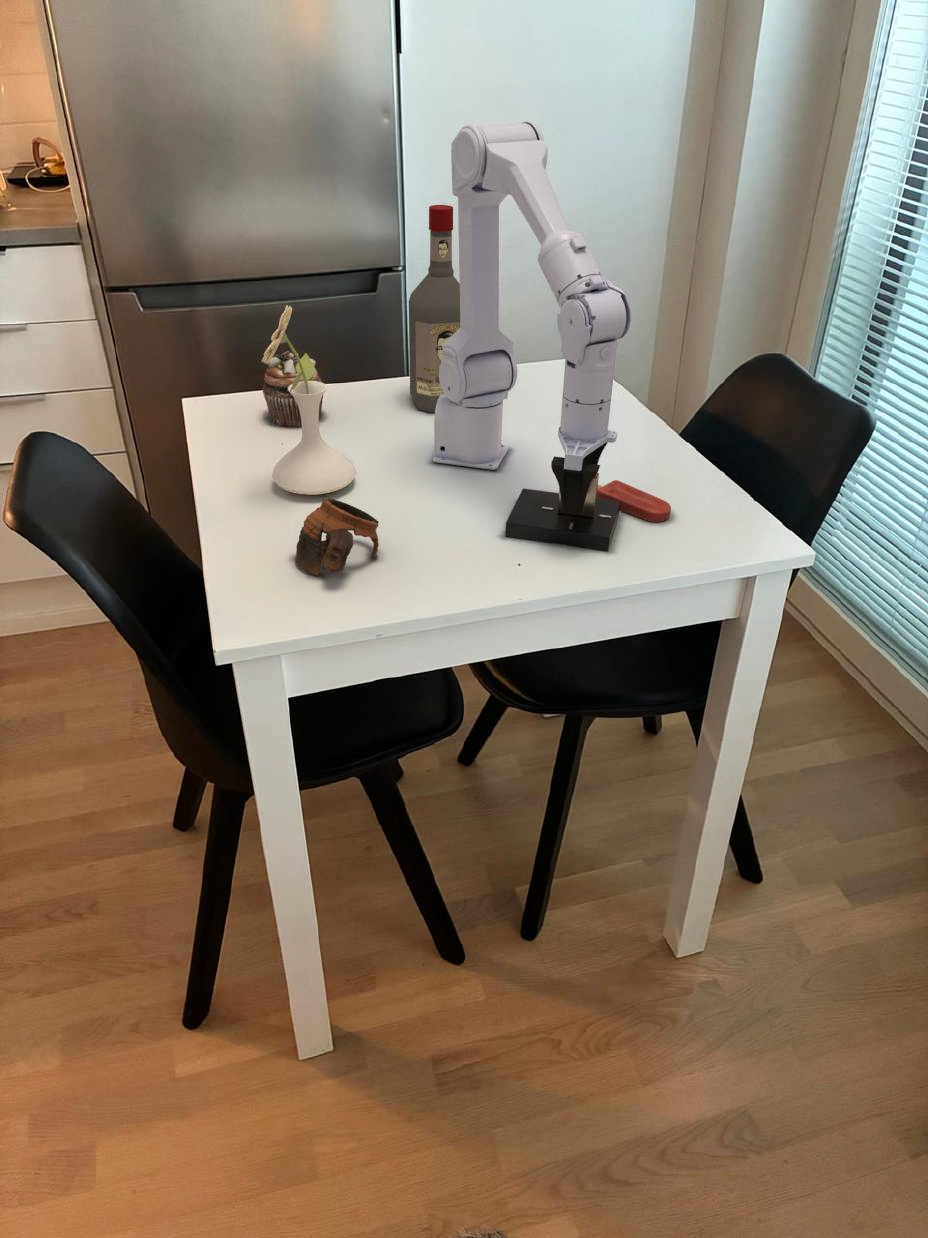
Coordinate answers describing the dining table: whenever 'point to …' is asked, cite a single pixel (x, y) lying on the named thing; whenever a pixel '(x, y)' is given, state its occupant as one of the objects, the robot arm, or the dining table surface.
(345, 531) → the pottery mug
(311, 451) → the flower in vase
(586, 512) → the knob
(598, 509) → the knob box
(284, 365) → the cupcake
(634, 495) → the popsicle
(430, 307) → the liquor
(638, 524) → the dining table surface
